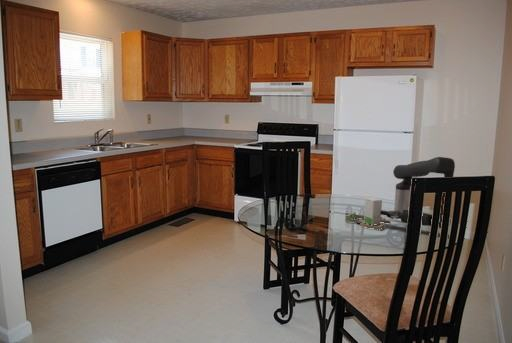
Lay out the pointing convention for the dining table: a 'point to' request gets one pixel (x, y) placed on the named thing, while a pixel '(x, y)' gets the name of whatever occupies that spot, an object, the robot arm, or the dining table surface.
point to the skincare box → (372, 210)
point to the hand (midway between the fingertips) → (381, 212)
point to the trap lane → (363, 223)
